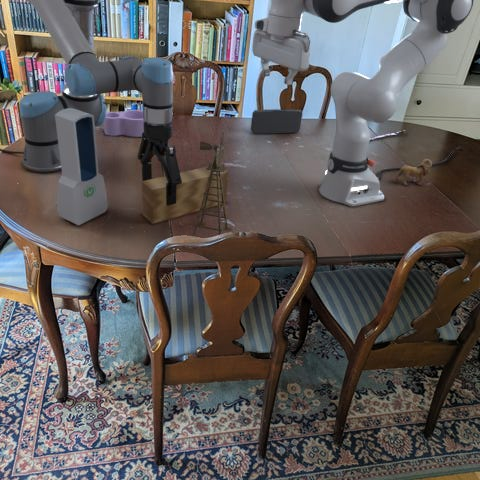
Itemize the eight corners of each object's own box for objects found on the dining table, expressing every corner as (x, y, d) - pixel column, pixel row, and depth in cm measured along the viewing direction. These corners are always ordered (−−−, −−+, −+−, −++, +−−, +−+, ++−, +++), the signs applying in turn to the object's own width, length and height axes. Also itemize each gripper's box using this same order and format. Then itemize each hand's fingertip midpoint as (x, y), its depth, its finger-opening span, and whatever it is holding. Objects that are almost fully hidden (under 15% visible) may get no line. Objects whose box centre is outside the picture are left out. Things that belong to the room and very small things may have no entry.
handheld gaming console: (297, 130, 211) (300, 108, 206) (299, 132, 209) (303, 110, 204) (249, 131, 204) (252, 109, 199) (252, 134, 202) (254, 111, 197)
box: (152, 224, 133) (152, 189, 128) (142, 214, 137) (141, 181, 131) (225, 203, 148) (228, 171, 142) (214, 195, 152) (216, 164, 146)
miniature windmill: (221, 244, 128) (229, 139, 111) (191, 238, 129) (195, 134, 112) (228, 227, 135) (237, 127, 119) (200, 222, 136) (205, 122, 120)
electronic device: (75, 227, 128) (63, 121, 112) (57, 218, 131) (42, 113, 115) (109, 210, 137) (102, 110, 121) (90, 202, 140) (81, 103, 124)
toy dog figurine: (420, 178, 179) (427, 156, 174) (429, 184, 174) (437, 162, 170) (388, 181, 174) (395, 158, 169) (397, 187, 170) (404, 164, 165)
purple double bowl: (105, 137, 184) (104, 120, 180) (103, 126, 193) (101, 110, 190) (156, 136, 190) (156, 119, 186) (151, 125, 200) (151, 109, 196)
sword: (403, 130, 224) (403, 128, 224) (408, 133, 222) (409, 130, 222) (360, 142, 209) (360, 139, 208) (365, 144, 207) (365, 142, 206)
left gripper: (196, 134, 116) (193, 209, 127) (147, 106, 132) (149, 175, 143) (170, 139, 112) (169, 216, 123) (123, 109, 128) (126, 180, 139)
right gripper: (319, 34, 120) (310, 88, 127) (268, 20, 133) (262, 70, 140) (302, 35, 116) (293, 90, 124) (251, 20, 129) (246, 71, 137)
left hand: (158, 194), depth 133 cm, fingers open, 13 cm apart
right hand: (276, 79), depth 132 cm, fingers open, 8 cm apart
